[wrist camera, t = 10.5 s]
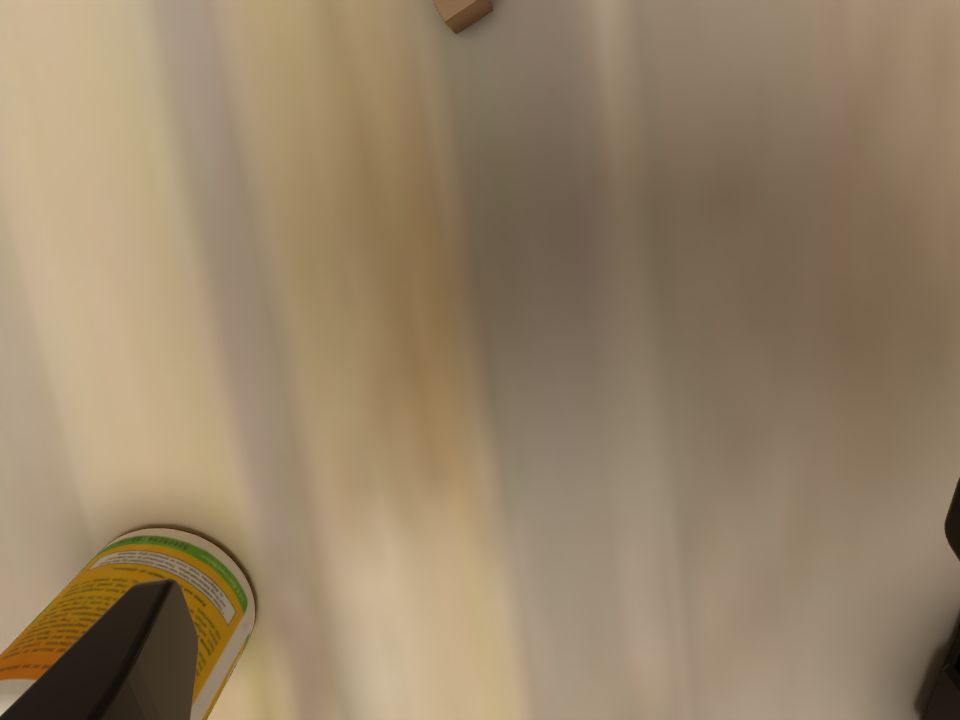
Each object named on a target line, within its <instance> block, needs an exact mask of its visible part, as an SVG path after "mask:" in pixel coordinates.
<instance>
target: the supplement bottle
mask: <svg viewBox="0 0 960 720" xmlns="http://www.w3.org/2000/svg"><path fill="white" fill-rule="evenodd" d="M168 578H170V579H174V580H176V581H177V582H178V583H179V584H180V586H181V588H182V591H183V594H184V597H185V599H186V602H187V605H188V608H189V611H190V613H191V616H192V619H193V622H194V625H195V627H196V631H197V635H198V659H197V667H196V675H195V684H194V692H193V701H192V709H191V717H190V720H207V718H208V717H209V715H210V713H211V711H212V709H213V707H214V705H215V703H216V701H217V700H218V698H219V696H220V694H221V692H222V690H223V688H224V686H225V685H226V683H227V681H228V679H229V677H230V676H231V674H232V672H233V670H234V668H235V666H236V664H237V662H238V660H239V658H240V656H241V654H242V653H243V651H244V648H245V646H246V644H247V642H248V639H249V637H250V635H251V632H252V629H253V626H254V620H255V604H254V598H253V594H252V591H251V589H250V586H249V583H248V582H247V580H246V578H245V576H244V574H243V573H242V571H241V570H240V569H239V567H238V566H237V565H236V563H235V562H234V561H233V560H232V559H231V558H230V557H229V556H228V555H227V554H226V553H225V552H223V551H222V550H221V549H220V548H218V547H217V546H215V545H214V544H212V543H211V542H209V541H207V540H205V539H203V538H201V537H199V536H196V535H194V534H191V533H187V532H184V531H179V530H174V529H165V528H152V529H143V530H138V531H134V532H131V533H128V534H125V535H123V536H121V537H119V538H117V539H116V540H114V541H112V542H111V543H110V544H108V545H107V546H106V547H105V548H104V549H103V550H101V551H100V552H99V553H98V554H97V555H96V556H95V557H94V558H93V559H92V560H91V561H90V562H89V563H88V564H87V565H86V566H85V567H84V568H83V569H82V570H81V572H80V573H79V574H78V575H77V576H76V577H75V578H74V579H73V580H72V581H71V582H70V583H69V584H68V585H67V586H66V588H65V589H64V590H63V591H62V592H61V593H60V594H59V595H58V596H57V597H56V598H55V599H54V600H53V601H52V602H51V603H50V604H49V605H48V606H47V607H46V608H45V609H44V610H43V611H42V612H41V613H40V614H39V615H38V616H37V617H36V619H35V620H34V621H33V622H32V623H31V624H30V625H29V626H28V627H27V628H26V629H25V630H24V631H23V632H22V633H21V634H20V635H19V636H18V637H17V638H16V639H15V640H14V642H13V643H12V644H11V645H10V646H9V647H8V648H7V649H6V650H5V651H4V652H3V653H2V654H1V655H0V716H1V715H2V714H3V713H4V712H5V711H6V710H7V709H8V708H9V707H10V706H11V705H12V704H13V703H14V702H15V701H16V700H17V699H18V698H19V697H20V696H21V695H22V694H23V693H24V692H25V691H26V690H27V689H28V688H29V687H30V686H31V685H32V684H33V683H34V682H35V681H36V680H37V679H38V678H39V677H40V676H41V675H42V674H43V673H44V672H45V671H46V670H47V669H48V668H49V667H50V666H51V665H52V664H53V663H54V662H55V661H56V660H57V659H58V658H59V657H61V656H62V655H63V654H64V653H65V652H66V651H67V650H68V649H69V648H70V647H71V646H72V645H73V644H74V643H75V642H76V641H77V640H78V639H79V638H80V637H81V636H82V635H83V634H84V633H85V632H86V631H87V630H88V629H89V628H90V627H91V626H92V625H93V624H94V623H95V622H96V621H97V620H98V619H99V618H100V617H101V616H102V615H103V614H104V613H105V612H106V611H107V610H108V609H109V608H110V607H111V606H112V605H113V604H114V603H115V602H116V601H117V600H118V599H119V598H120V597H121V596H122V595H123V594H124V593H125V592H126V591H127V590H128V589H130V588H131V587H132V586H133V585H135V584H137V583H140V582H146V581H153V580H160V579H168Z"/></svg>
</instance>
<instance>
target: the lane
mask: <svg viewBox="0 0 960 720" xmlns="http://www.w3.org/2000/svg"><path fill="white" fill-rule="evenodd" d="M433 2H434V4H435V6H436V7H437V9H438V11H439V13H440V15H441V17H442V19H443V20H444V22H445V23H446V24H447V25H448V26H449V27H450V28H451V29H452V31H453V32H454V33H455V34H457V33H459V32H460V31H462V30H463V29H465V28H467V27H468V26H470V25H471V24H473V23H474V22H476V21H477V20H479V19H480V18H482V17H484V16H485V15H487V14H488V13H490V12H491V11H493V10H492V7H491V4H490V1H489V0H433Z"/></svg>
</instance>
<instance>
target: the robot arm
mask: <svg viewBox="0 0 960 720" xmlns="http://www.w3.org/2000/svg"><path fill="white" fill-rule="evenodd" d="M945 535H946V538H947V541H948V543H949V545H950V547H951V548H952V550H953V551H954V553H955V555H956V556H957V558H958V559H959V561H960V478H959V480H958V483H957V486H956V489H955V492H954V495H953V498H952V501H951V504H950V507H949V510H948V514H947V517H946V520H945ZM197 659H198V635H197V631H196V627H195V625H194V622H193V619H192V616H191V613H190V611H189V608H188V605H187V602H186V599H185V597H184V594H183V591H182V588H181V586H180V584H179V583H178V582H177V581H176V580H174V579H170V578H168V579H160V580H153V581H146V582H140V583H137V584H135V585H133V586H132V587H131V588H130V589H128V590H127V591H126V592H125V593H124V594H123V595H122V596H121V597H120V598H119V599H118V600H117V601H116V602H115V603H114V604H113V605H112V606H111V607H110V608H109V609H108V610H107V611H106V612H105V613H104V614H103V615H102V616H101V617H100V618H99V619H98V620H97V621H96V622H95V623H94V624H93V625H92V626H91V627H90V628H89V629H88V630H87V631H86V632H85V633H84V634H83V635H82V636H81V637H80V638H79V639H78V640H77V641H76V642H75V643H74V644H73V645H72V646H71V647H70V648H69V649H68V650H67V651H66V652H65V653H64V654H63V655H62V656H61V657H59V658H58V659H57V660H56V661H55V662H54V663H53V664H52V665H51V666H50V667H49V668H48V669H47V670H46V671H45V672H44V673H43V674H42V675H41V676H40V677H39V678H38V679H37V680H36V681H35V682H34V683H33V684H32V685H31V686H30V687H29V688H28V689H27V690H26V691H25V692H24V693H23V694H22V695H21V696H20V697H19V698H18V699H17V700H16V701H15V702H14V703H13V704H12V705H11V706H10V707H9V708H8V709H7V710H6V711H5V712H4V713H3V714H2V715H1V716H0V720H190V717H191V709H192V701H193V692H194V684H195V675H196V667H197ZM923 720H960V624H959V627H958V629H957V632H956V635H955V637H954V640H953V643H952V645H951V648H950V651H949V653H948V656H947V659H946V661H945V664H944V667H943V669H942V671H941V674H940V677H939V679H938V682H937V685H936V687H935V690H934V693H933V695H932V698H931V701H930V703H929V706H928V709H927V711H926V714H925V717H924V719H923Z"/></svg>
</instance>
